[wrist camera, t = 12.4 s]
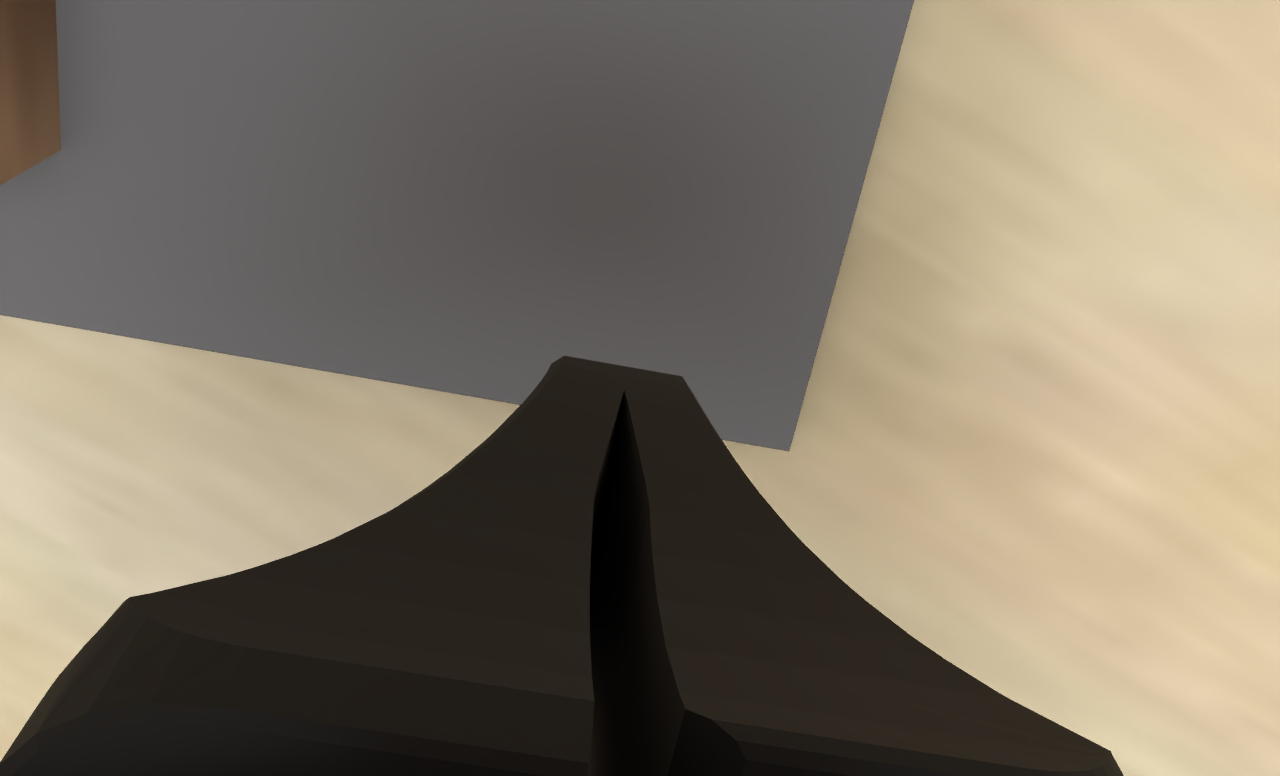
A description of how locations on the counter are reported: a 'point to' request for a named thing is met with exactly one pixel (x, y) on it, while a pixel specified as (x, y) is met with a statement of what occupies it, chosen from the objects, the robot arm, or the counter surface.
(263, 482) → the counter surface
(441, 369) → the mat
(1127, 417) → the counter surface
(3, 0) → the letter cube
